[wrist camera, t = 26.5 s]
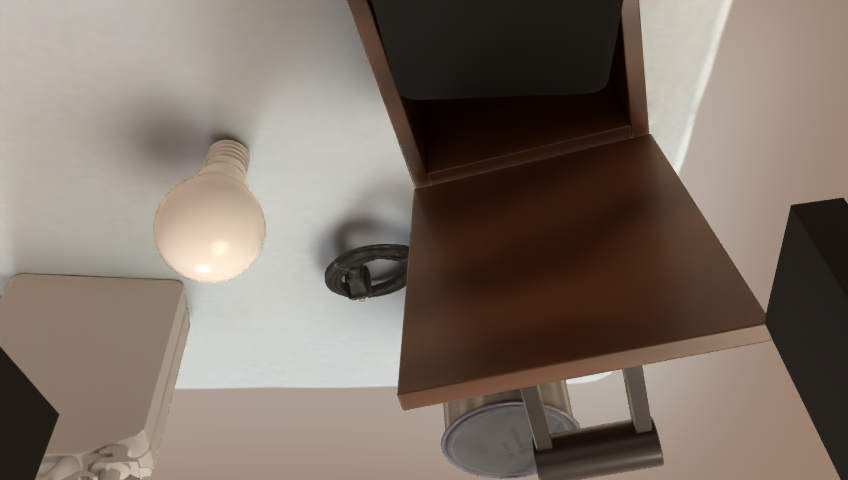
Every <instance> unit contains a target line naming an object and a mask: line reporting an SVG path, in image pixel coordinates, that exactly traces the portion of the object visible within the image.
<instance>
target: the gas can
mask: <svg viewBox="0 0 848 480" xmlns="http://www.w3.org/2000/svg"><path fill="white" fill-rule="evenodd" d="M186 304H187V302H186V296H185V290H184V285H183V284H182V283H180V282H179V281H175V280H154V279H132V278H109V277H87V276H64V275H42V274H18V275H16V276H14V277H12V278H11V279H10V281H9V283H8V285H7V287H6V289H5V291H4V292H3V294H2V296H1V298H0V347H1V348H2V349H3V350H4V351H5V352H6V353H7V355H8V356H9V357H10V358H11V359H12V360H13V362H14V363H15V364H16V365H17V366H18V367H19V368H20V370H21V371H22V372H23V373H24V374H25V375H26V376H27V378H28V379H29V380H30V381H31V382H32V383H33V384H34V386H35V387H36V388H37V389H38V390H39V391H40V393H41V394H42V395H43V396H44V397H45V398H46V399H47V401H48V402H49V403H50V404H51V405H52V406H53V407H54V409H55V410H56V411H57V412H58V413H59V414H60V415H59V417H58V420H57V423H56V425H55V428H54V431H53V433H52V436H51V439H50V441H49V444H48V447H47V449H46V452H45V455H44V457H43V460H42V463H41V465H40V468H39V471H38V473H37V476H36V479H35V480H142V479H143V476H151V475H152V473H151V470H152V469H153V468H154V467H155V464H156V460H157V456H158V452H159V448H160V444H161V440H162V436H163V432H164V428H165V424H166V420H167V416H168V412H169V408H170V404H171V400H172V395H173V392H174V388H175V384H176V380H177V376H178V372H179V368H180V364H181V360H182V356H183V352H184V348H185V344H186V340H187V336H188V332H189V328H190V321H189V314H188V308H187V307H186ZM137 477H140V478H137Z"/></svg>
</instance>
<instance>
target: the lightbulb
mask: <svg viewBox="0 0 848 480" xmlns="http://www.w3.org/2000/svg"><path fill="white" fill-rule="evenodd" d="M249 162H250V156H249V153H248V151H247V149H246V148H245V147H244V146H243V145H241V144H240V143H238V142H236V141H232V140H220V141H217V142H215V143H214V144H213V145H212V146H211V147H210V149H209V152H208V155H207V159H206V162H205V166H204V167H203V168H202V169H201V170H200V171H199V172H198V174H197V175H196V176H194V177H191V178H189V179H186V180H184V181H182V182H181V183H179V184H177V185H176V186H175V187H173V188H172V189H171V190H170V191H169V192H168V193H167V194H166V195H165V197H164V198H163V199H162V201H161V203H160V204H159V206H158V209H157V211H156V214H155V218H154V225H153V232H154V239H155V243H156V246H157V249H158V251H159V253H160V255H161V257H162V258H163V260H164V261H165V262H166V264H167V265H168V266H169V267H170V268H171V269H173V270H174V271H175V272H176V273H178V274H179V275H181V276H183V277H185V278H187V279H190V280H193V281H197V282H202V283H218V282H223V281H227V280H230V279H232V278H235V277H237V276H238V275H240V274H242V273H243V272H244V271H246V270H247V269H248V268H249V267H250V266H251V265H252V264H253V263H254V262H255V260H256V259H257V257H258V256H259V254H260V252H261V250H262V248H263V245H264V241H265V235H266V223H265V218H264V214H263V211H262V208H261V206H260V204H259V202H258V201H257V199H256V198H255V196H254V195H253V194H252V193H251V192H250V190H249V188H248V182H247V179H246V175H247V171H248V166H249Z"/></svg>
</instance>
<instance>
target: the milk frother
mask: <svg viewBox="0 0 848 480" xmlns="http://www.w3.org/2000/svg"><path fill="white" fill-rule="evenodd" d="M408 258H409V247H408V246H405V245H398V244H376V245H369V246H364V247H360V248H357V249H354V250H351V251H349V252H347V253H345V254H343V255H341V256H340V257H338V258H337V259H335V260H334V261H333V262H332V263H331V264H330V265H329V266H328V267H327V269H326V272H325V283H326V285H327V287H328V288H329V289H330V290H331V291H332V292H334V293H336V294H339V295H342V296H345V297H348V298H349V299H350V300H357V299H359V301H364V300H365V298H366V297H368V298H371V297H377V296H382V295H387V294H390V293H393V292H396V291H398V290H400V289H402V288H403V287H404V286H406V283H407V270H408ZM376 259H385V260H394V261H399V262H401V263H403V264H404V265H405V267H404V269H403V270H402V271H401V272H400V273H399V274H398V275H397V276H395V277H393V278H392V279H390V280H388V281H385V282H383V283H380V284H376V285H373V286H372V285H371V279H370V273H369V270H368V268H367V267H366V266H363V265H362V264H364V263H366V262H369V261H374V260H376ZM343 276H345V282H343V281H342V277H343ZM539 389H540V393H541V397H542V401H543V405H544V409H545V413H546V417H547V421H548V425H549V429H550V432H551V433H557V432H562V431H568V430H574V429H579V428H580V426H579V423H578V422H577V421H576V420H575V419H574V418H573V414H572V410H571V405H570V400H569V395H568V391H567V385H566V380H561V381H556V382H551V383H546V384H540V385H539ZM443 406H444V420H445V433H444V434H443V437H442V440H441V447H442V451H443V454H444V455H445V457H446V458H447V460H448V461H449V462H450V463H451V464H452V465H453V466H456V467H457V468H459V469H460V470H462V471H464V472H467V473H470V474H473V475H477V476H482V477H489V478H500V479H502V478H518V477H526V476H529V475H534V474H537V469H536V465H535V460H534V454H533V449H532V437H533V436H532V432H531V428H530V425H529V421H528V417H527V414H526V410H525V406H524V403H523V399H522V395H521V392H520V388H519V389H514V390H509V391H504V392H498V393H493V394H488V395H482V396H477V397H472V398H467V399H461V400H456V401H451V402H446V403H443Z"/></svg>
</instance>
